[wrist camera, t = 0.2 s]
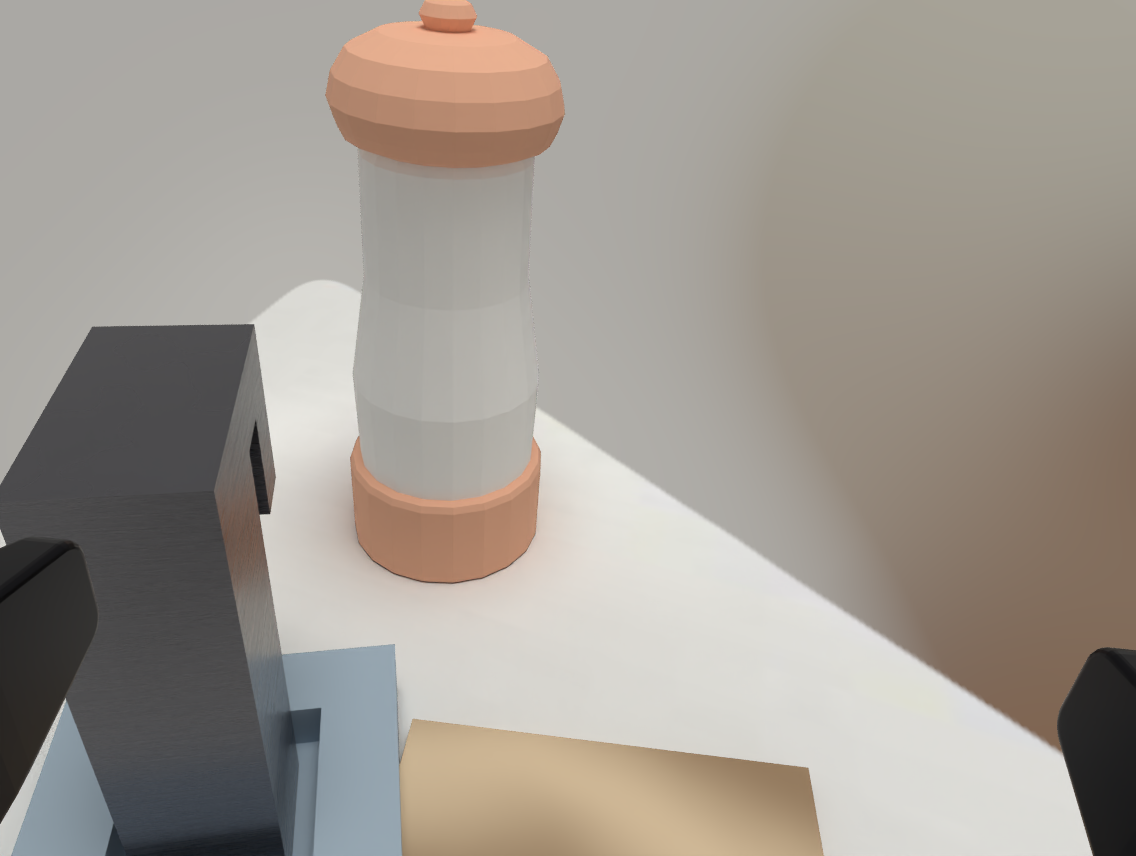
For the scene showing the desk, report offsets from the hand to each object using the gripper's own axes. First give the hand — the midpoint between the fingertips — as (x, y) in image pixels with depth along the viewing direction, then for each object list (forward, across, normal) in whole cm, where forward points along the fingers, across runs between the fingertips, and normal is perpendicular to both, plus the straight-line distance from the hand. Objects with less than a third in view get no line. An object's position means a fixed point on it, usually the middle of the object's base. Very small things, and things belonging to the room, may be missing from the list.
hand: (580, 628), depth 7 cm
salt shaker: (+22, +5, +16) cm, 27 cm away
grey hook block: (+9, +9, +16) cm, 20 cm away
